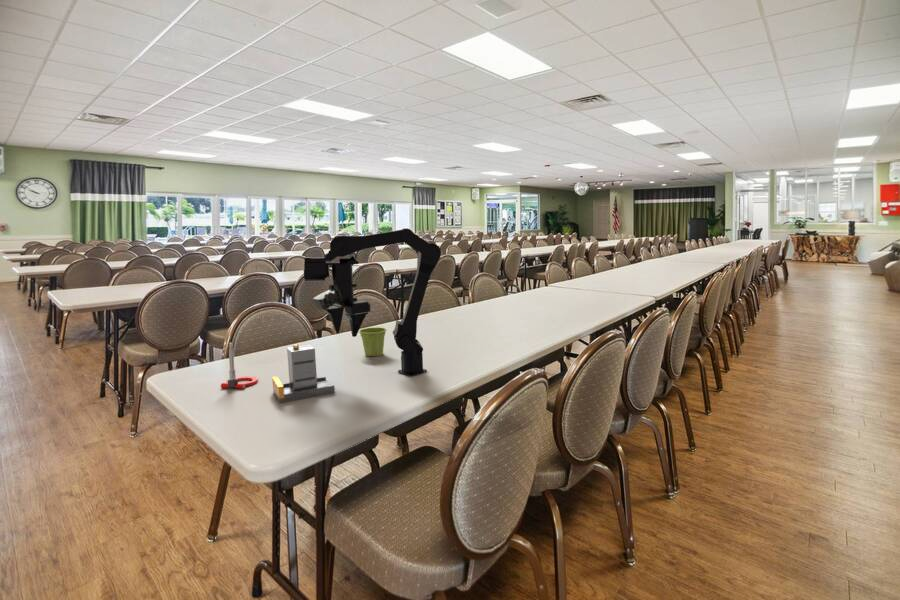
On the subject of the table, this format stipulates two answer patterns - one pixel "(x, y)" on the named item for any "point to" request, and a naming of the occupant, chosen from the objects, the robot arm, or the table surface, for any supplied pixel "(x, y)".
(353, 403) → the table surface
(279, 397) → the grey channel rail
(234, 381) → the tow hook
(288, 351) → the grey grooved upright block
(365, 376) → the table surface
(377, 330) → the plant pot
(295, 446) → the table surface
